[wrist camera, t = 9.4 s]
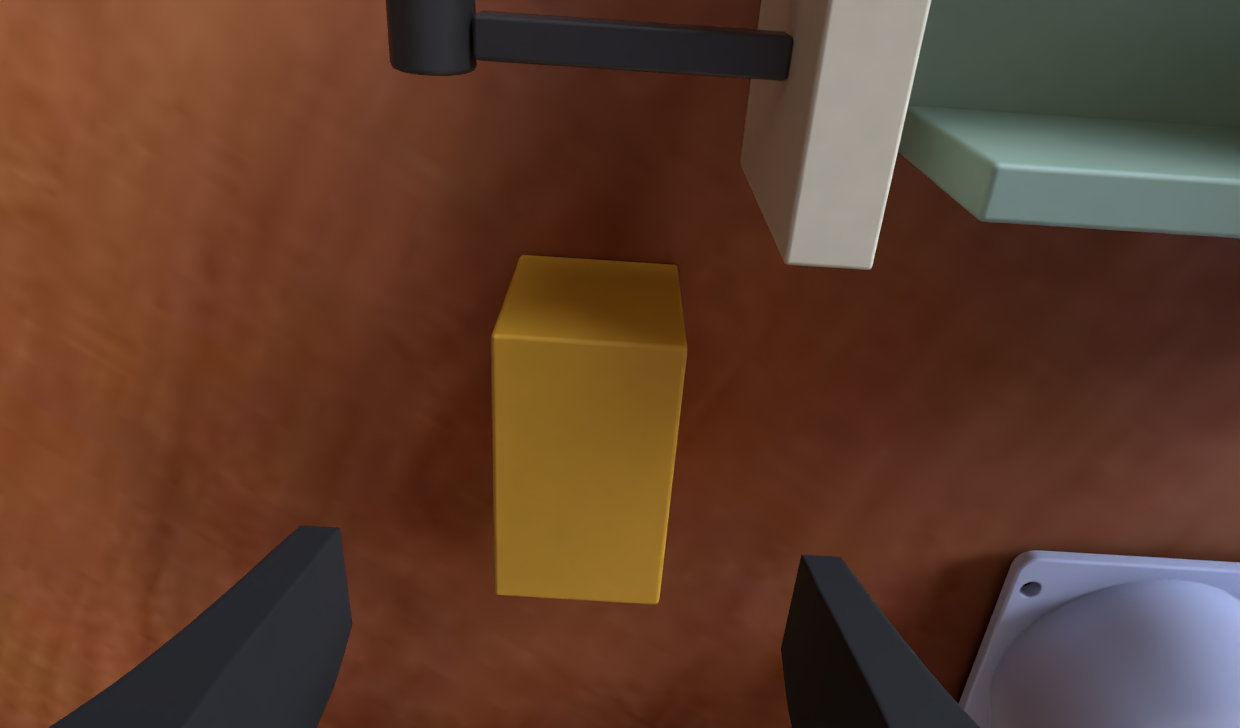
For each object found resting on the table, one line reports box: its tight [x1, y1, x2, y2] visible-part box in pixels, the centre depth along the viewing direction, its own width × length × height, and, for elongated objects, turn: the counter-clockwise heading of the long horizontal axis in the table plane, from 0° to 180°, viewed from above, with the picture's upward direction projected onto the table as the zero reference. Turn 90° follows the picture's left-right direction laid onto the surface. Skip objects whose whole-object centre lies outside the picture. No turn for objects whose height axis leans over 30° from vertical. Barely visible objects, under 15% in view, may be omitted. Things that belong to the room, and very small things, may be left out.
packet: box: [491, 255, 688, 605], centre depth 17 cm, size 6×3×4 cm, turn 176°
